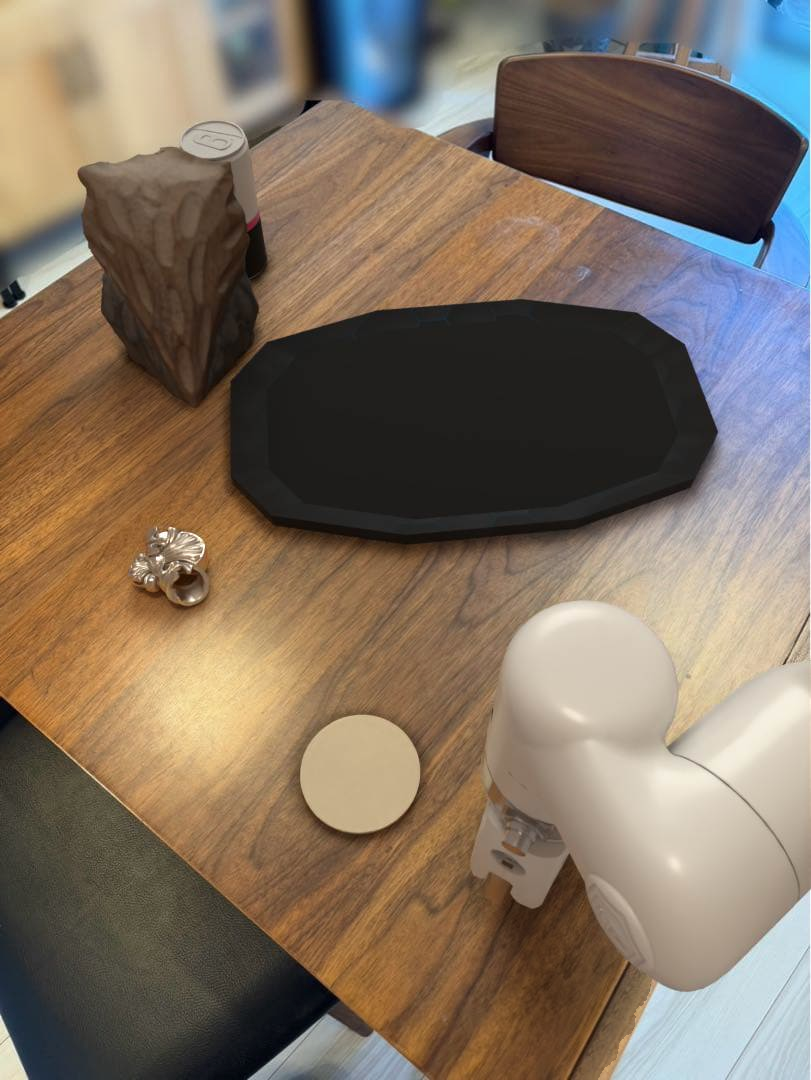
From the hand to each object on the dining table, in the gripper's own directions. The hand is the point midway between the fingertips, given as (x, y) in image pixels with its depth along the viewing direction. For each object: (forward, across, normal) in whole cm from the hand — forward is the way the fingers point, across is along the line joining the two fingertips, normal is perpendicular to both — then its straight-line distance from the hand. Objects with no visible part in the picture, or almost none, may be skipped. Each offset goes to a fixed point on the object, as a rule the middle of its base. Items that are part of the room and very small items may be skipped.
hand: (517, 847), depth 62 cm
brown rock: (+2, +28, +49) cm, 57 cm away
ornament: (+2, +7, +36) cm, 36 cm away
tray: (+2, +35, +21) cm, 41 cm away
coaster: (+2, 0, +13) cm, 13 cm away
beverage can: (+2, +42, +53) cm, 68 cm away
